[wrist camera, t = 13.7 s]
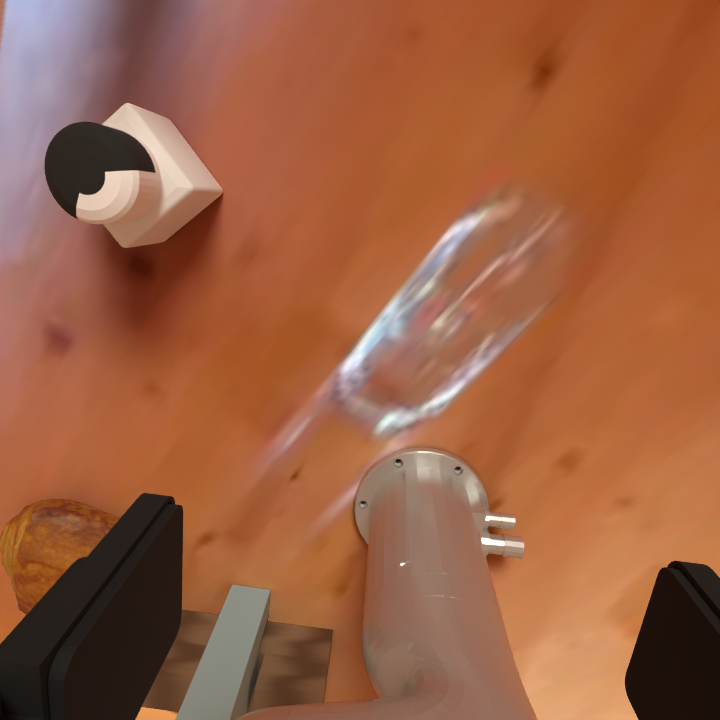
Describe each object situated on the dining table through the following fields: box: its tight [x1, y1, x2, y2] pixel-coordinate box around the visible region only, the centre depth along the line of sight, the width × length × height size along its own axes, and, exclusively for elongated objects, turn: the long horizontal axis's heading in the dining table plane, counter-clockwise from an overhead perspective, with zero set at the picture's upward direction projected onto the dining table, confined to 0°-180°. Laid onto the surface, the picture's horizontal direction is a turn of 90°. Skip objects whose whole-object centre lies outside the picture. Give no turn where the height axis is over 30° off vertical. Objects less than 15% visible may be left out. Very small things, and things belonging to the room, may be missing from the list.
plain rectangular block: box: [176, 585, 270, 720], centre depth 48 cm, size 12×4×16 cm, turn 173°
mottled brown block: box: [142, 610, 333, 712], centre depth 52 cm, size 18×4×8 cm, turn 84°
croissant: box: [0, 499, 120, 615], centre depth 52 cm, size 14×16×8 cm
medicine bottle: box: [45, 103, 223, 248], centre depth 38 cm, size 7×7×12 cm
